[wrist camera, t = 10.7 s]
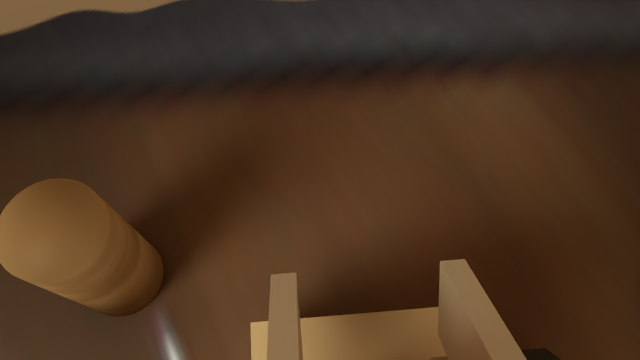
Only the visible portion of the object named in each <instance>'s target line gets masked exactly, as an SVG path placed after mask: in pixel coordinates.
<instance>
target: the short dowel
mask: <svg viewBox="0 0 640 360" xmlns="http://www.w3.org/2000/svg"><path fill="white" fill-rule="evenodd" d="M0 263H1V265H2V266H3V267H4V268H5V269H6V270H7V271H8V272H9V273H10V274H12V275H14V276H15V277H17V278H20V279H22V280H24V281H27V282H29V283H32V284H34V285H37V286H39V287H41V288H44V289H46V290H49V291H51V292H54V293H56V294H58V295H61V296H63V297H66V298H68V299H71V300H73V301H75V302H78V303H80V304H83V305H85V306H88V307H90V308H92V309H95V310H97V311H100V312H102V313H105V314H107V315H111V316H126V315H130V314H133V313H136V312H138V311H140V310H142V309H143V308H145V307H146V306H147V305H148V304H149V303H150V302H151V301H152V300H153V299H154V298H155V297H156V295H157V294H158V292H159V290H160V288H161V285H162V282H163V278H164V266H163V261H162V258H161V256H160V254H159V253H158V251H157V250H156V249H155V248H154V247H153V246H152V245H151V244H150V243H149V242H148V241H147V240H146V239H145V238H143V237H142V236H141V235H140V234H139V233H138V232H137V231H136V230H135V229H134V228H133V227H132V226H131V225H130V224H129V223H127V222H126V221H125V220H124V219H123V218H122V217H121V216H120V215H119V214H118V213H117V212H116V211H115V210H114V209H112V208H111V207H110V206H109V205H108V204H107V203H106V202H105V201H104V200H103V199H102V198H101V197H100V196H99V195H98V194H96V193H95V192H94V191H93V190H92V189H91V188H90V187H88V186H87V185H85V184H83V183H82V182H79V181H77V180H73V179H67V178H53V179H47V180H43V181H40V182H37V183H35V184H33V185H31V186H29V187H27V188H26V189H24V190H22V191H21V192H20V193H18V194H17V195H16V196H15V197H14V198H13V199H12V200H11V201H10V202H9V203H8V204H7V206H6V207H5V209H4V210H3V211H2V213H1V215H0Z"/></svg>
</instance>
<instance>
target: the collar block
mask: <svg viewBox="0 0 640 360" xmlns="http://www.w3.org/2000/svg"><path fill="white" fill-rule="evenodd" d="M438 309H439V307H432V308H420V309H408V310H396V311H384V312H372V313H360V314H348V315H336V316H324V317H312V318H300V324H301V336H302V349H303V360H448V358H447V355H446V353H445V351H444V348H443V346H442V343H441V341H440V339H439V336H438ZM268 322H269V321H264V322H252V323H251V356H252V360H267V341H268Z"/></svg>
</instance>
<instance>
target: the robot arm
mask: <svg viewBox="0 0 640 360" xmlns="http://www.w3.org/2000/svg"><path fill="white" fill-rule="evenodd" d="M438 336H439V339H440V341H441V343H442V346H443V348H444V351H445V353H446V355H447V358H448V360H560V359H559V358H557V357H556V356H555V355H553V354H552V353H551V352H549V351H548V350H547V349H545V348H542V349H530V350H520V348H519V346H518V345H517V343H516V341H515V340H514V338H513V337H512V335H511V333H510V332H509V330H508V328H507V327H506V325H505V324H504V322H503V320H502V319H501V317H500V315H499V314H498V312H497V311H496V309H495V307H494V306H493V304H492V302H491V301H490V299H489V298H488V296H487V294H486V293H485V291H484V289H483V288H482V286H481V285H480V283H479V281H478V280H477V278H476V276H475V275H474V273H473V272H472V270H471V268H470V267H469V265H468V263H467V262H466V260H465V259H459V260H446V261H440V280H439V309H438ZM267 360H303V349H302V336H301V324H300V312H299V301H298V289H297V277H296V273H285V274H272V275H271V283H270V303H269V322H268V341H267Z"/></svg>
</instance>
